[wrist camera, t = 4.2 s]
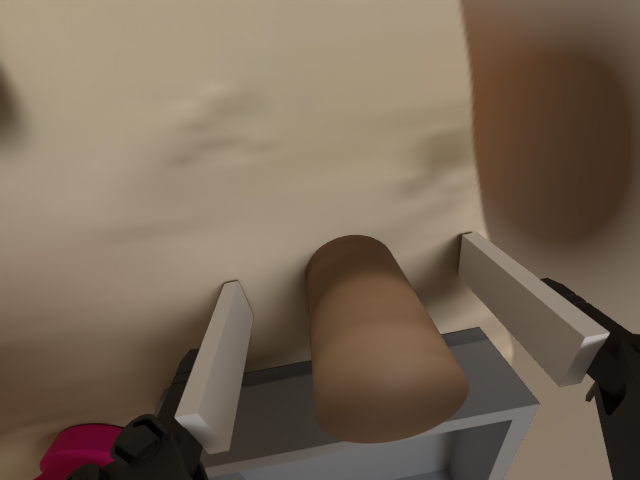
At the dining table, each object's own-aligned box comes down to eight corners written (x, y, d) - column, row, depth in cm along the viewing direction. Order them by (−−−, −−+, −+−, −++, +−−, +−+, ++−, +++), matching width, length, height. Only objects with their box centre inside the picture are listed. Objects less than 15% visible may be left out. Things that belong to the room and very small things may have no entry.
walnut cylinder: (296, 246, 13) (299, 377, 7) (392, 226, 13) (478, 342, 7) (315, 313, 16) (329, 453, 10) (396, 297, 15) (461, 428, 9)
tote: (164, 389, 18) (123, 483, 14) (479, 327, 18) (540, 403, 13) (260, 496, 29) (254, 566, 25) (453, 459, 29) (481, 524, 24)
